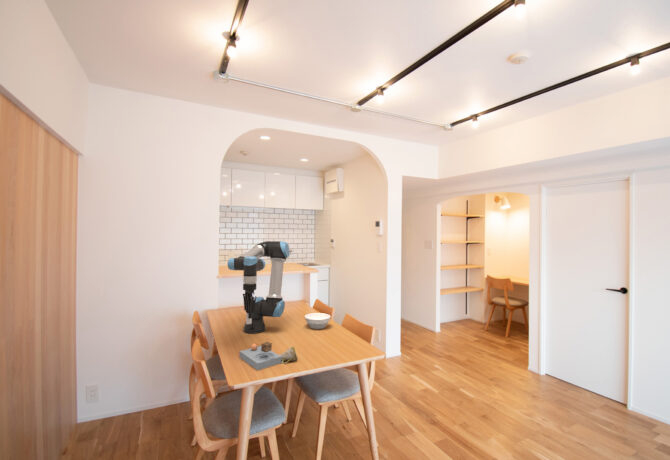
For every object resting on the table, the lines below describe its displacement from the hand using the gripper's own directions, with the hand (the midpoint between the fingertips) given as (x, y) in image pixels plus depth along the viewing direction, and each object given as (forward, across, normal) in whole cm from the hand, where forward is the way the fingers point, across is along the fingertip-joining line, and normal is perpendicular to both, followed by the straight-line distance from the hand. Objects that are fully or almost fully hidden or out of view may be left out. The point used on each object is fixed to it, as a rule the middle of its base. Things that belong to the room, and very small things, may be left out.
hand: (248, 323), depth 179 cm
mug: (+17, +24, +12) cm, 32 cm away
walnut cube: (+13, +12, +5) cm, 19 cm away
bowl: (+17, -13, +62) cm, 66 cm away
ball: (+12, +7, 0) cm, 13 cm away
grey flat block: (+17, +14, 0) cm, 22 cm away
